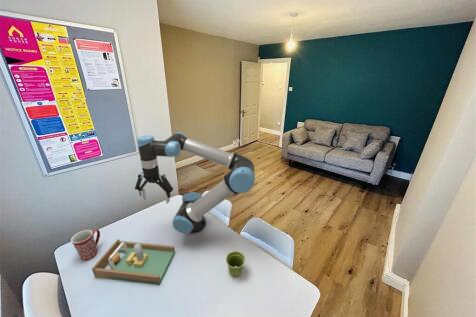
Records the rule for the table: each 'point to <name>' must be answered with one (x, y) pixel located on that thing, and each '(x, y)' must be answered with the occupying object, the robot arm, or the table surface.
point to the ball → (115, 258)
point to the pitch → (147, 273)
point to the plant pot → (235, 263)
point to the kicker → (137, 256)
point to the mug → (86, 243)
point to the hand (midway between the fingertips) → (156, 201)
